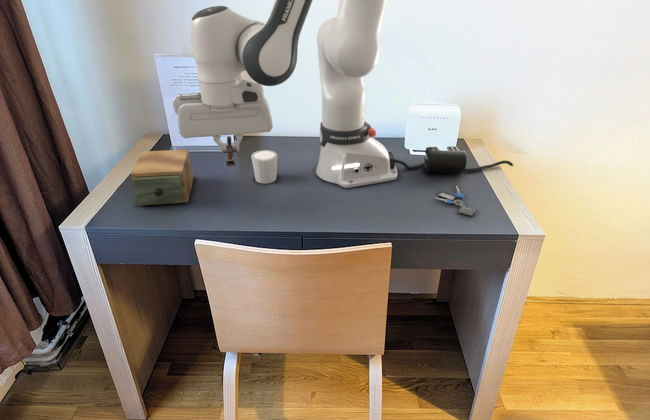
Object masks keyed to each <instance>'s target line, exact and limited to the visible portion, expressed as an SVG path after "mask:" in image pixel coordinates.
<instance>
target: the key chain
mask: <svg viewBox="0 0 650 420" xmlns="http://www.w3.org/2000/svg"><path fill="white" fill-rule="evenodd" d="M455 190H456V192H455V193H454V196H452V195H451V194H447V193H445V192H441V193H440V194H438V196H440V197H441V198H440V197H437V196H434V200H437V201H440V202H445V204H449V205H450V204H451V205H452V204H454V205H456V206H458V207H460V208H459V209H458V213H459V214H463V215H467V216H469V217H470V216H471V217H472V216H473V215H474V214H475V211H476V209H475V208H472V207H469V206H466V205H465V204H464V201H465V195H464V194H463V193H461V191H460V189H459V186H458V185H455ZM456 198H460V199H461V198H462V199H463V200H460V199H456Z"/></svg>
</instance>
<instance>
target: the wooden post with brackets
mask: <svg viewBox="0 0 650 420" xmlns="http://www.w3.org/2000/svg"><path fill="white" fill-rule="evenodd" d="M226 143H227V150H228V151H227V152H228V153H227V159H225V163H226V167H228V168H229V167H235V166H236V162H235V159H233V158H234V157H235V155H234V154H235V152H233V149H232V143H233V142H232V136H231V135H227V136H226Z"/></svg>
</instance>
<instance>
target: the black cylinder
mask: <svg viewBox="0 0 650 420" xmlns="http://www.w3.org/2000/svg"><path fill="white" fill-rule="evenodd" d="M424 154H425V155H426V156H425V157H424V158H423V163H425V164H426V165H424V166H423V169H424V171H425V173H426V174H427V175H432V174H438V175H439V174H461V173H464V172H465V171H464V170H465V168H467V164H468V163H467V161H468V158H467V153H466V151H465V150H461V149H459V148H458V146H447V147H446V150H441V149H439V147H438V146H427V147H426V148H425V151H424Z"/></svg>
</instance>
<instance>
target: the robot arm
mask: <svg viewBox="0 0 650 420" xmlns="http://www.w3.org/2000/svg"><path fill="white" fill-rule="evenodd" d="M313 1H314V0H274V2H273V3H272V7H271V10H270V11H269V15H268V17H267V20H266V22H265V23H264V22H262V21H258V20H253V19H251V18H248V17H245V16H243V15H241V14H238V13H237V12H235V11H233V10H231V8H229V7H228V6H225V5H217V6H216V5H215V6H209V7H206V8H203V9H200V10H197V12H196V13H194V15H193V16H192V17H191V20H190V27H189V28H190V42H191V49H192V55H193V59H194V62H195V64H196V66H197V83H198V88H199V92H193V93H181V94H178V96H175V97H174V98H173V101H172V106H173V110H174V112H175V114H176V115H177V126H178V132H179V135H180V136H181V137H182V138H184V139H192V138H204V137H205V138H206V137H212V138H213V141H214V142H215V144H216V145H217V146H218V147H219V149H220V154H228V152H227V151H228V150H227V146H228V144H227V142H223V141H222V140H221V136H231V135H234V136H235V138H236V140H235V142H231V143H232V149H233V153H240V144H241V143H242V140H243V135H246V134H247V135H248V134H259V133H260V134H261V133H270V132H271V131H272V130H273V128H274V127H273V119H272V114H271V108H270V105H269V102H268V100H267V98H266V97H265V90H264V87H263V86H265V87H274V86H277V85H278V86H279V85H281V84H283V83H285V82H286V81H287V80H288V79H290V77H292V75H293V73H294V72H295V69H296V66H297V62H298V48H299V40H300V36H301V33H302V29H303V27H304V24H305V22H306V19H307V16H308V14H309V11H310V9H311V5H312V3H313ZM388 1H389V0H339V2H338V8H337V12H336V16H335V17H332V18H328V19H327V20H325V21H324V22H323V23H322V24H320V26H319V28H318V30H317V34H316V45H317V58H318V70H319V80H320V88H321V89H320V90H321V122H320V124H319V125H320V126H319V142H320V151H319V157H318V162H317V166H316V169H315V173H316V176H318V178H320V179H321V180H323V181H325V182H327V183H332V184H336V185H338V186H340V187H342V188H345V189H351V188H355V187H356V188H357V187H361V186H362V187H363V186H368V185H374V184H379V183H385V182H390V181H395V180H396V179H397V178H398V168H397V166H396V165H395V164H399V165H402V166H403V167H404V168H405V169H407V170H416V169H420V168H424V165H426V164H425V162H423V163H419V164H417V165H408V164H407V163H406V162H405V161H403V160H400V159H396V158H395V156H394V154H393V153H392V151H388V150H387V148H386V147H385V145H384V144H382V143H381V142H380V141H378V140H377V139H375V137H376V136H377V131H376V130H375V128H373V127H372V125H370V124H369V123H368V122H367V121H366V120H365V116H366V115H365V114H366V98H367V97H366V89H365V84H364V80H363V77H365V76H367V75H369V74H370V73H371V72H373V70H374V69H375V67H376V66H377V64H378V61H379V57H380V52H379V51H380V50H379V42H380V37H381V33H382V27H383V22H384V21H383V20H384V17H385V11H386V7H387V4H388ZM242 72H246V73H247V75H248V76H249V77H250V79H252V80H253V81H254V82H253V81H250V80H246V79H242ZM505 164H506V165H508V166H509V167H510V166H511V167H514V164H513V162H511V161H510V160H505V159H504V160H500V161H497V162H494V163H491V164H486V165H481V166H476V167H469V168H467V167H466V168H465V170H464V171H463V172H465V173H466V172H475V171H476V172H477V171H480V170H485V169H490V168H491V169H492V168H494V167H497V166H499V165H505Z"/></svg>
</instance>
